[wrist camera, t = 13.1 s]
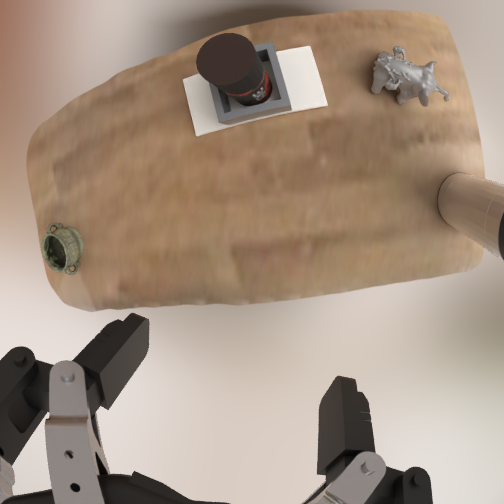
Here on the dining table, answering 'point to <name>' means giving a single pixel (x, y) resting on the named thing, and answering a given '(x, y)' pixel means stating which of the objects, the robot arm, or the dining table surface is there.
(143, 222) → the dining table surface
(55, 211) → the dining table surface
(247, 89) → the deodorant
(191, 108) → the socket stand
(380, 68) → the gray elephant figurine
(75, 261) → the vessel
